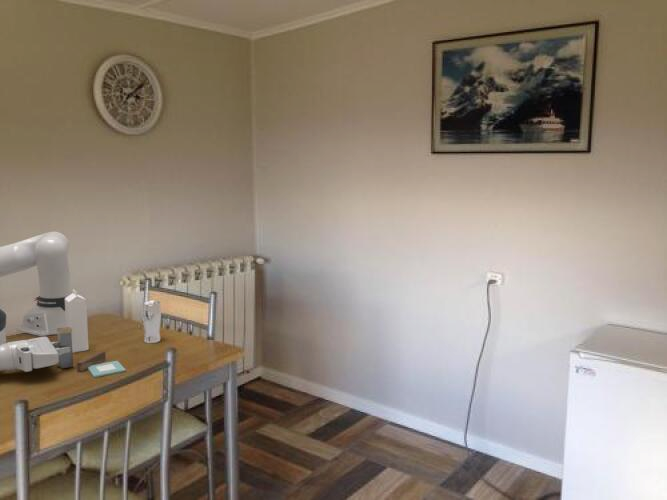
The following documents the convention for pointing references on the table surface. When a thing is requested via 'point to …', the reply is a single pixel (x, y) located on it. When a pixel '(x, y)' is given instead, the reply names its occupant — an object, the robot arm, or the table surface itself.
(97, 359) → the dark brown bar
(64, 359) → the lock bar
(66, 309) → the milk
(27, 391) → the table surface
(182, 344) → the table surface
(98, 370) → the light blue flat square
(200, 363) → the table surface
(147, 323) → the beer glass
